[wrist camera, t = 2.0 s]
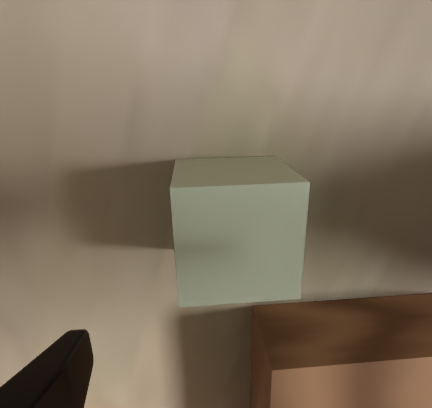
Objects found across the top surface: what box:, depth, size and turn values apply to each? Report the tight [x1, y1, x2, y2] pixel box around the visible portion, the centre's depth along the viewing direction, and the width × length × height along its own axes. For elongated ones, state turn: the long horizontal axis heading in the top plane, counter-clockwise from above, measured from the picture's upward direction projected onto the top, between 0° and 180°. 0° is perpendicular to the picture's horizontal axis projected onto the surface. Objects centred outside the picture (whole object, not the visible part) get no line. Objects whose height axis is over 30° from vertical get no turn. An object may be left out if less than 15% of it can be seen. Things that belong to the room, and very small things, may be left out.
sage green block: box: [170, 156, 310, 307], centre depth 14 cm, size 5×5×5 cm
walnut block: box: [250, 293, 432, 408], centre depth 19 cm, size 12×12×5 cm
